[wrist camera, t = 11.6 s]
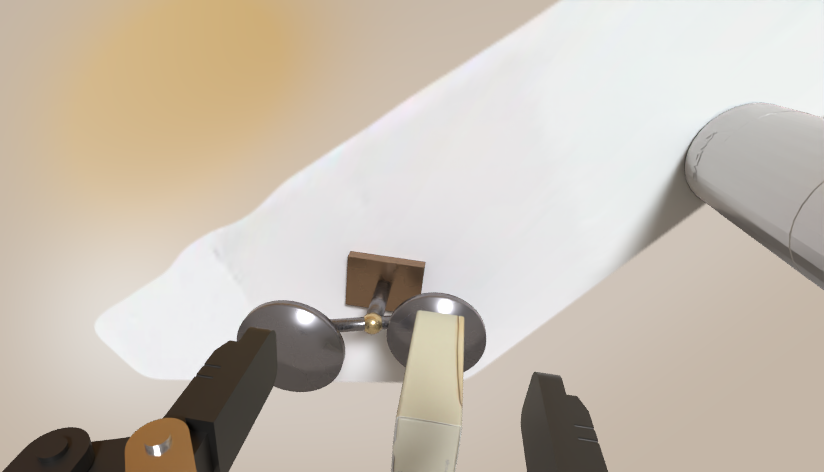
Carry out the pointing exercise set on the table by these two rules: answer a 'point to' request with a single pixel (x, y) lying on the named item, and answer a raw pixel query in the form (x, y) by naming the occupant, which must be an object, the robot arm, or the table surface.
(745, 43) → the table surface
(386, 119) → the table surface
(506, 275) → the table surface
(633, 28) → the table surface
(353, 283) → the balance
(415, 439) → the skincare box
